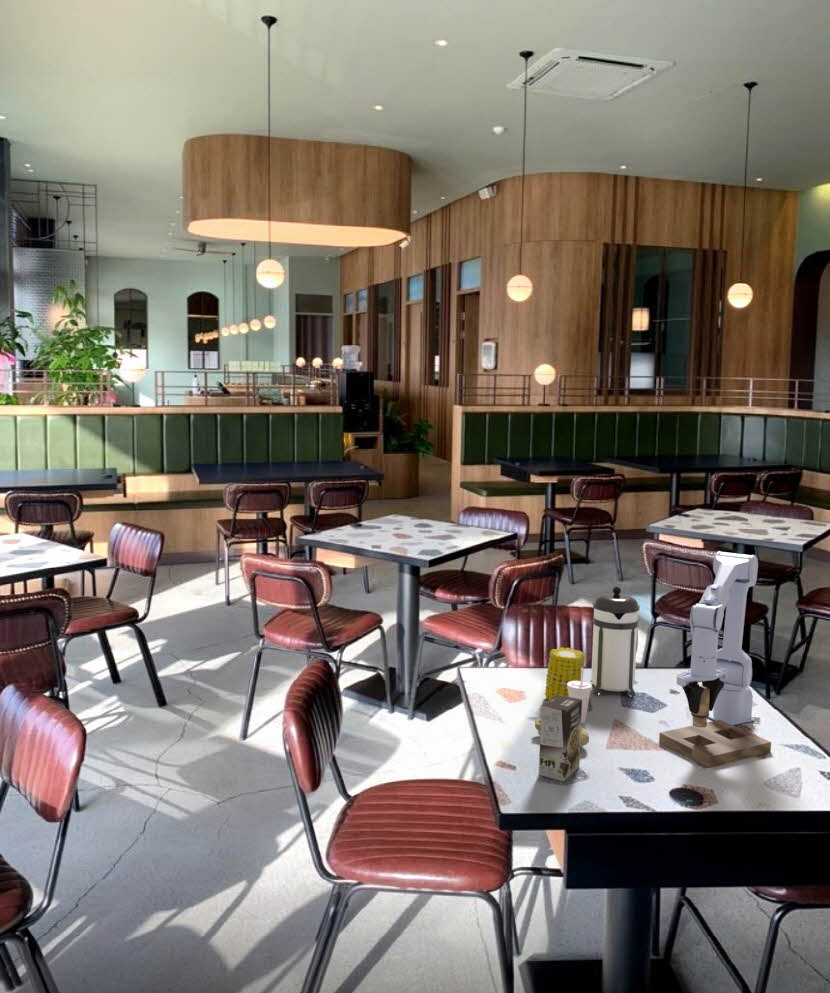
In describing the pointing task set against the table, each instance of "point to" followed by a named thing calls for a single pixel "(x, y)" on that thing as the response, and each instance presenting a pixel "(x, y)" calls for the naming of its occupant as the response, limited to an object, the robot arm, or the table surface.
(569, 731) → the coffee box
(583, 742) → the oil lamp
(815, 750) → the table surface
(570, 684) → the smoothie
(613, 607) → the coffee press
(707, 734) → the walnut board
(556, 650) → the food
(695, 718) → the oak peg
